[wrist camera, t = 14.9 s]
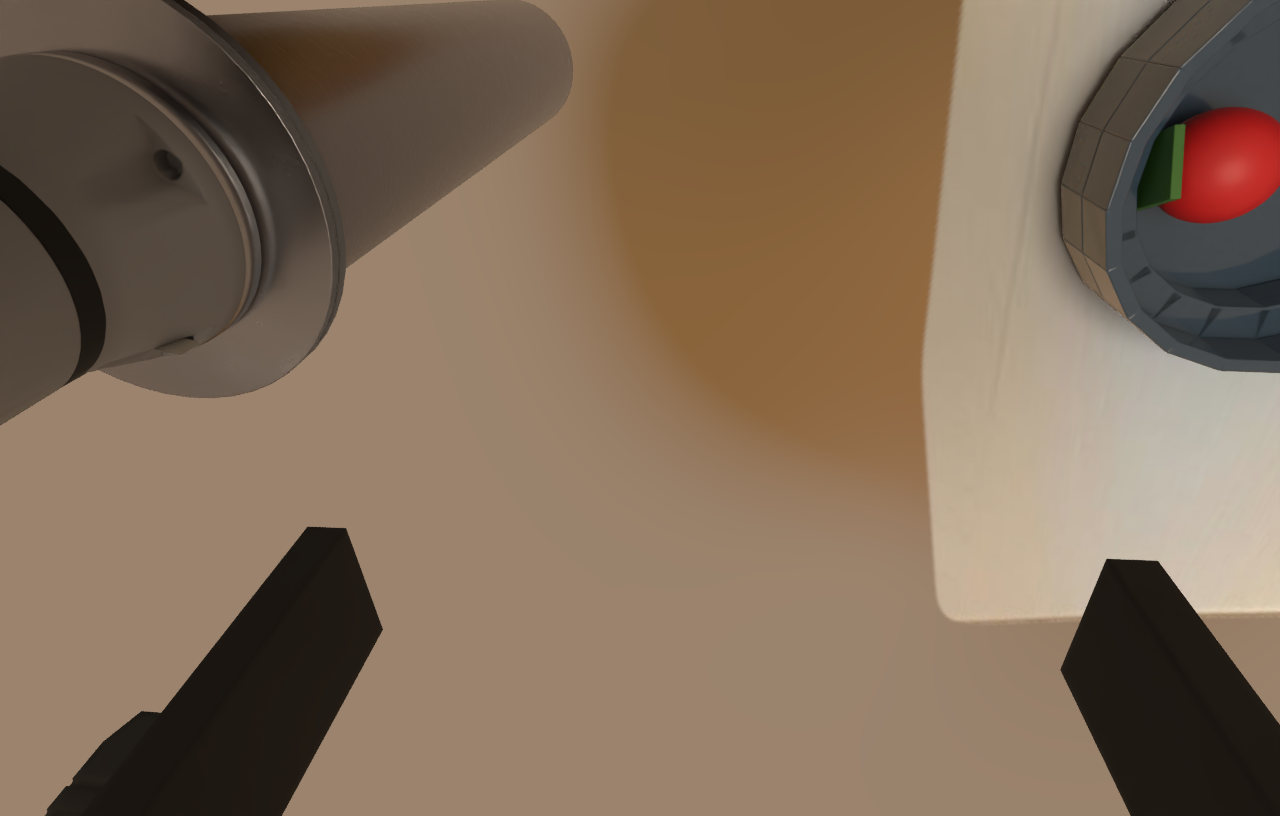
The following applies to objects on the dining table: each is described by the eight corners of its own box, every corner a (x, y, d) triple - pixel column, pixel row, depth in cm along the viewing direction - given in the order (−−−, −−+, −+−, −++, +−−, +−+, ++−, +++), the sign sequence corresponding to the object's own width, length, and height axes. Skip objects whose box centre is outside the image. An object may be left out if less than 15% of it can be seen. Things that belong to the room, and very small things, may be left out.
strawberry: (1222, 179, 30) (1109, 186, 31) (1283, 80, 27) (1155, 89, 27) (1271, 243, 27) (1146, 248, 28) (1346, 142, 24) (1201, 150, 24)
